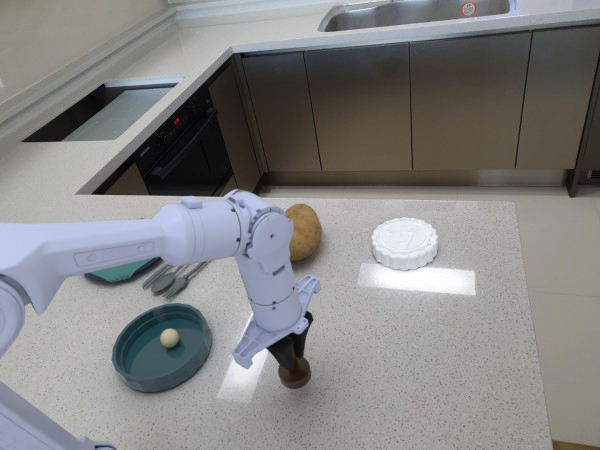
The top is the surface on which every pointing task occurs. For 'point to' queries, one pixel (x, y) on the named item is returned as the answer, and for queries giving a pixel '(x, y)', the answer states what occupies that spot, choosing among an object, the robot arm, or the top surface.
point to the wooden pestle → (295, 372)
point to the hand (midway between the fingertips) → (291, 359)
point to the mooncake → (404, 243)
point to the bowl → (161, 347)
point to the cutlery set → (161, 283)
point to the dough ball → (169, 338)
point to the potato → (303, 231)
